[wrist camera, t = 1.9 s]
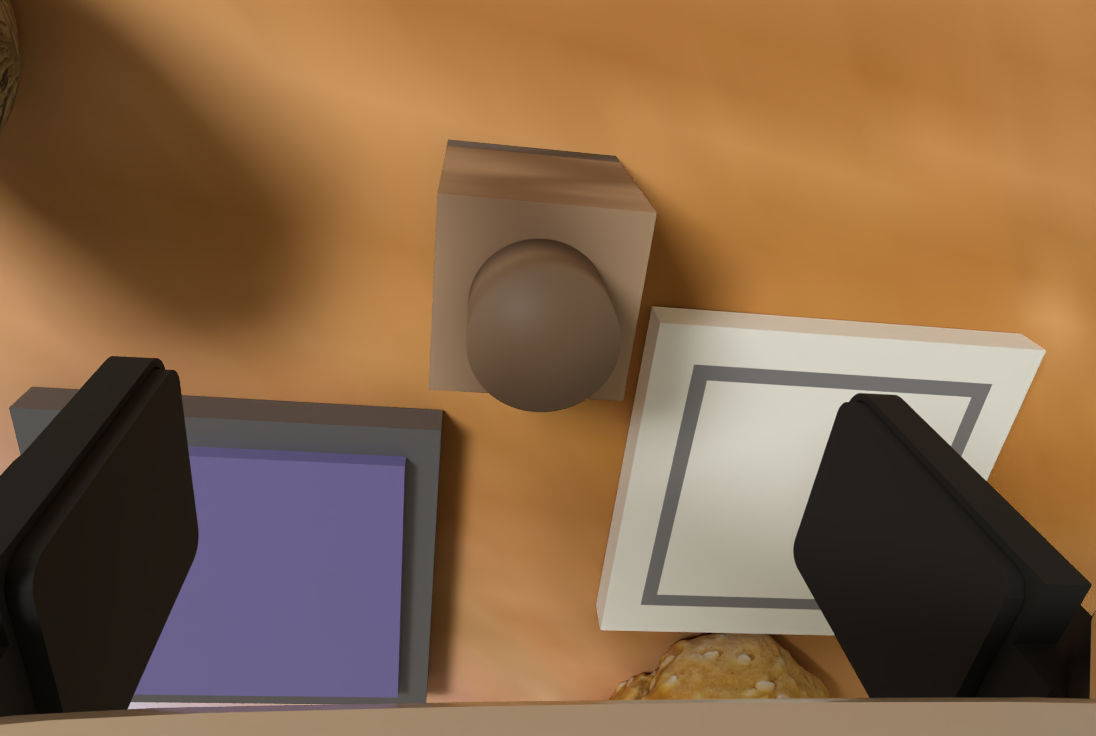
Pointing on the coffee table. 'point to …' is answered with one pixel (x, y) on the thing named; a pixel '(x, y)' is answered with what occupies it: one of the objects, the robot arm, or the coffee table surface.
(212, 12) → the coffee table surface
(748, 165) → the coffee table surface
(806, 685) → the bagel
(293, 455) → the ink pad
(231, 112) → the coffee table surface
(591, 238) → the stamp
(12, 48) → the cup
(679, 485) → the board
